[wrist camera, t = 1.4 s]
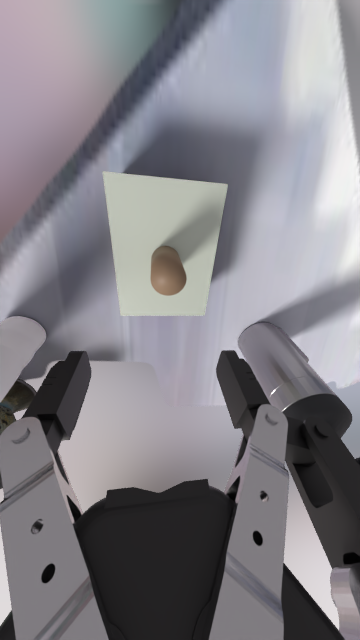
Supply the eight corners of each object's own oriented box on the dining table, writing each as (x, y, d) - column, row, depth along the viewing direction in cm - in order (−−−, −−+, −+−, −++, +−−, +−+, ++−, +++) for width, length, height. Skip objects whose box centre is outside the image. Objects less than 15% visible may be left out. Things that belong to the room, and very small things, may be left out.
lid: (222, 184, 21) (252, 182, 15) (201, 309, 30) (214, 341, 24) (106, 172, 19) (83, 164, 13) (122, 309, 29) (113, 343, 22)
